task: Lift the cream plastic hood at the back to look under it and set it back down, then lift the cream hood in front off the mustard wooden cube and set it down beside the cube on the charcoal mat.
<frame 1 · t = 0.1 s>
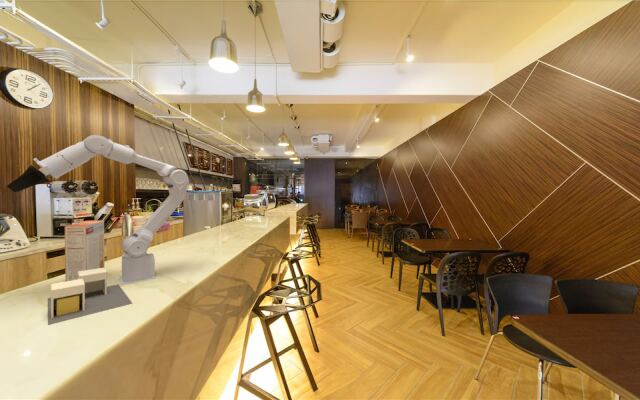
hand: (11, 189, 67), 32 cm above the worktop, tool tilted 50°, fingers open, 7 cm apart
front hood: (67, 297, 64), on the mat
mat: (89, 302, 70), on the worktop
cracker box: (86, 282, 85), on the worktop
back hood: (92, 294, 74), resting on mat
cube: (67, 303, 64), in the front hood, touching mat
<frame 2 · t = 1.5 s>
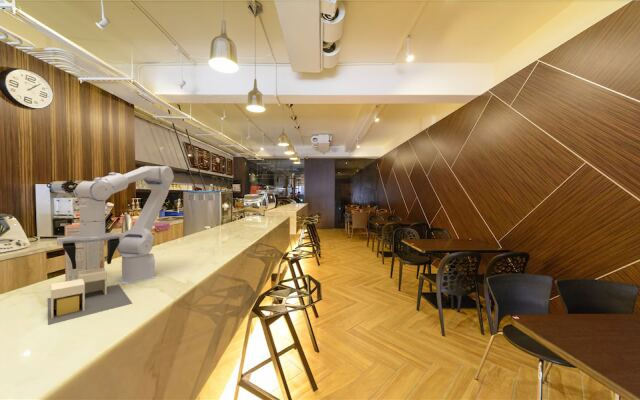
hand: (92, 265, 74), 9 cm above the worktop, tool pointing down, fingers open, 7 cm apart
nothing on the worktop moved.
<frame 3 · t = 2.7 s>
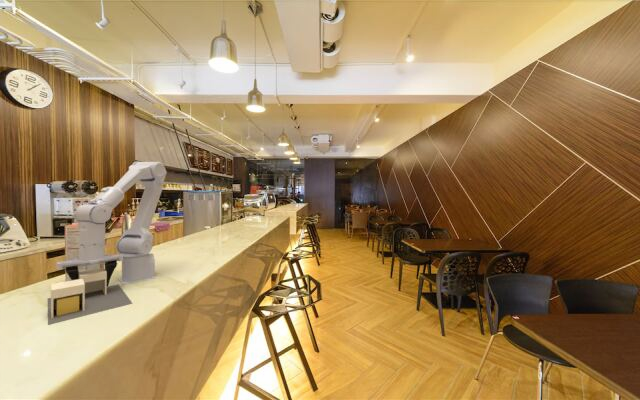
hand: (92, 288, 74), 2 cm above the worktop, tool pointing down, fingers closed on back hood, 6 cm apart
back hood: (92, 294, 74), resting on mat, touching gripper
everything else where it was.
when the fingers open (3 cm above the worktop, at t = 6.7 s): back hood stays where it is, resting on mat.
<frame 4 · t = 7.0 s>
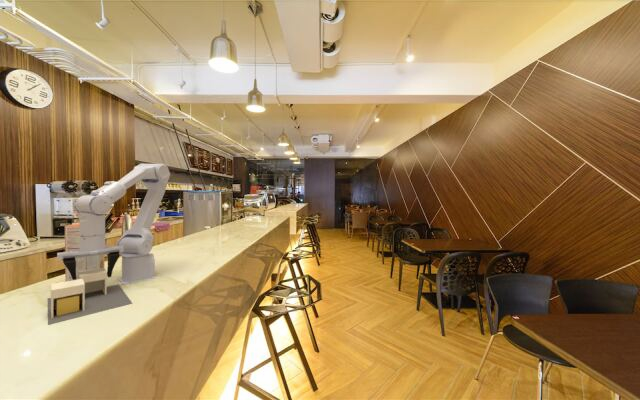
hand: (92, 279, 74), 5 cm above the worktop, tool pointing down, fingers open, 7 cm apart
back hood: (92, 294, 74), resting on mat
everything else where it was.
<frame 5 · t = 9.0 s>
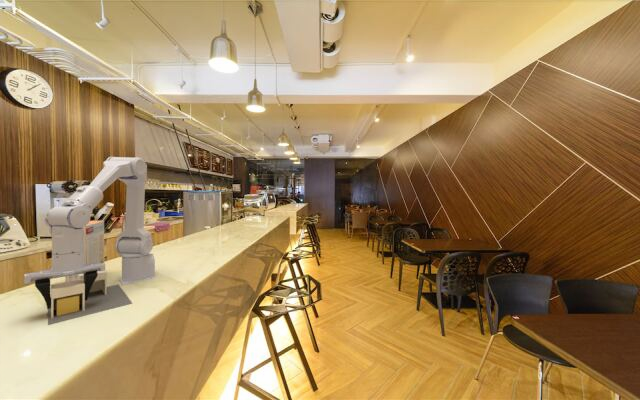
hand: (67, 303, 64), 2 cm above the worktop, tool pointing down, fingers closed on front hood, 6 cm apart
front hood: (67, 297, 64), on the mat, touching gripper
everything else where it was.
when the fingers open (3 cm above the worktop, at t = 13.5 s): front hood drops 1 cm, resting on mat.
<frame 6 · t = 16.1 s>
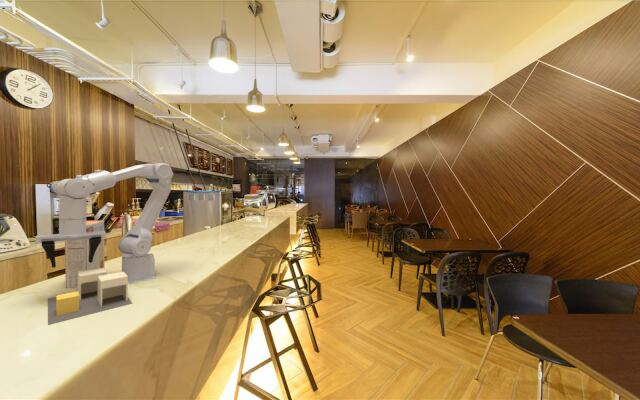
hand: (72, 264, 73), 10 cm above the worktop, tool pointing down, fingers open, 7 cm apart
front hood: (112, 288, 70), on the mat
everything else where it was.
at the end: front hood 0.1 cm from the target spot, point 4.0 cm above the worktop; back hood moved 0.0 cm from its start; cube moved 0.0 cm from its start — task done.
